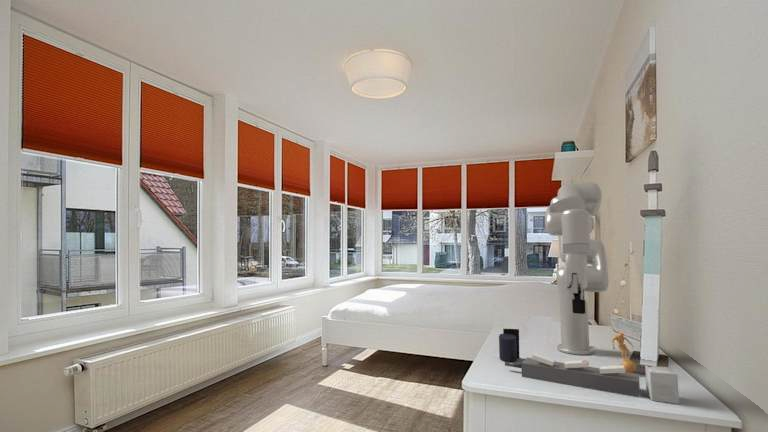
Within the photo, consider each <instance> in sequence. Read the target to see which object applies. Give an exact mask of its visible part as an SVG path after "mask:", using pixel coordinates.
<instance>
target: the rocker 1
mask: <svg viewBox="0 0 768 432" xmlns="http://www.w3.org/2000/svg"><path fill="white" fill-rule="evenodd" d="M531 358H532V359H534V360H537V361H539V362H542V363H545V364H548V365H551V366H553V365H554V364H555V362H556V359H554V358H551V357H548V356H545V355H542V354H540V353H537V352H533V354H532V356H531Z"/></svg>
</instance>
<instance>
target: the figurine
mask: <svg viewBox="0 0 768 432" xmlns="http://www.w3.org/2000/svg"><path fill="white" fill-rule="evenodd" d="M625 340H626V342H628V343H629V345H631V347H632V348H633V349H635V347H634V345H633V344H632V343H631V341H630V340H629V339H628V338H627V337H626V336H625V335H624V333H623V332H620V333H615V334H614V337H613V338H612V339H611V344H612V350H613V351H615V350H616V347H615V342H614V341H616V342H617V343H618V345H617V347H618V349H619V350H620V351H621V353H620V354H621V358H622V359H623V360H622V361H621V363H620V365H624V366H625V369H626V371H625V372H628V373H635V372H636V370H637V366H636V364H635V362H634V361H632V360H631V359H630V358H629V357H628V355H629V353H630V350H629V348H628V347H627V345H626V344H624V341H625Z"/></svg>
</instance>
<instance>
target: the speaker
mask: <svg viewBox="0 0 768 432" xmlns="http://www.w3.org/2000/svg"><path fill="white" fill-rule="evenodd" d="M498 349H499V350H498V351H499V352H498V353H499V359H500V360H501V361H503V362H511V363H515V362H516V361H517V359H520V328H503V332H502V333H500V334H499V335H498Z"/></svg>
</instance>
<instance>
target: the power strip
mask: <svg viewBox="0 0 768 432" xmlns="http://www.w3.org/2000/svg"><path fill="white" fill-rule="evenodd" d="M564 363H565V362H561V361H560V362H559V361H555V364H554V365H553V366H551V365H548V364H545V363H542V362H539V361H537V360H534V359H532V357H526V358H525V359H524V360H522V362H521V363H515V362H506V361H504V366H505V367H506V366H507V367H512V368H518V369H521V377H523V378H527V379H529V378H530V379H534V380H538V381H539V380H540V381H546V382H550V383H557V384H563V385H569V386H574V387H580V388H585V389H591V390H596V391H602V392H607V393H608V392H609V393H614V394H618V395H625V396H630V397H635V398H636V397H637V398H640V392H641V390H640V389H641V387H640V385H641V384H640V373H635V372H634V373H628V372H625V373H605V374H600V370H599V369H600V367H593V366H588V367H580V368H565V366H564Z"/></svg>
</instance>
